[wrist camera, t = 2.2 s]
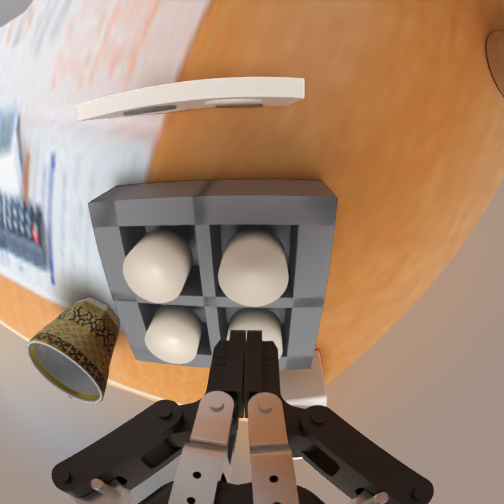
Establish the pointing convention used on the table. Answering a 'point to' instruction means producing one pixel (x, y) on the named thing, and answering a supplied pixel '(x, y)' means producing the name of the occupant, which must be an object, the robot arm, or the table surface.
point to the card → (196, 97)
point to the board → (221, 253)
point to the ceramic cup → (77, 350)
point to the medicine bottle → (304, 387)
